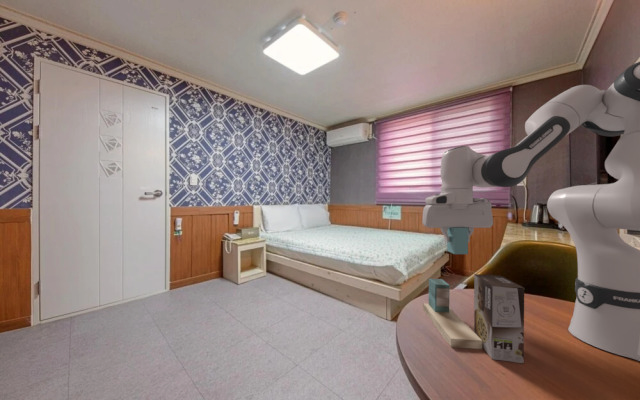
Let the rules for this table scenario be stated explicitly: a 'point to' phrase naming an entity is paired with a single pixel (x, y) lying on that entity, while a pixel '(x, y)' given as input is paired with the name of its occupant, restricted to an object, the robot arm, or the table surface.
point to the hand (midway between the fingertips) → (456, 241)
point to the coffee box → (499, 317)
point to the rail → (448, 318)
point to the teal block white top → (458, 240)
